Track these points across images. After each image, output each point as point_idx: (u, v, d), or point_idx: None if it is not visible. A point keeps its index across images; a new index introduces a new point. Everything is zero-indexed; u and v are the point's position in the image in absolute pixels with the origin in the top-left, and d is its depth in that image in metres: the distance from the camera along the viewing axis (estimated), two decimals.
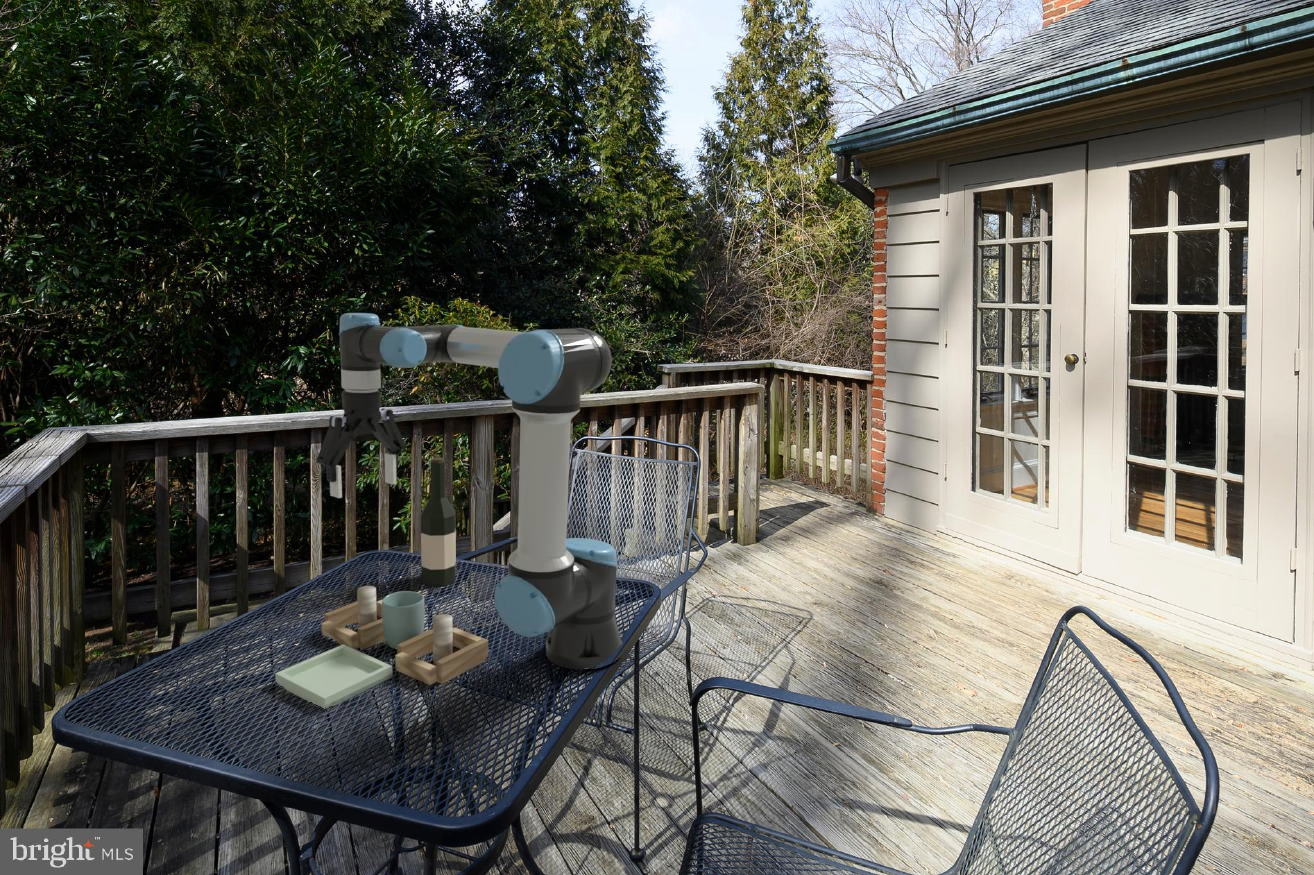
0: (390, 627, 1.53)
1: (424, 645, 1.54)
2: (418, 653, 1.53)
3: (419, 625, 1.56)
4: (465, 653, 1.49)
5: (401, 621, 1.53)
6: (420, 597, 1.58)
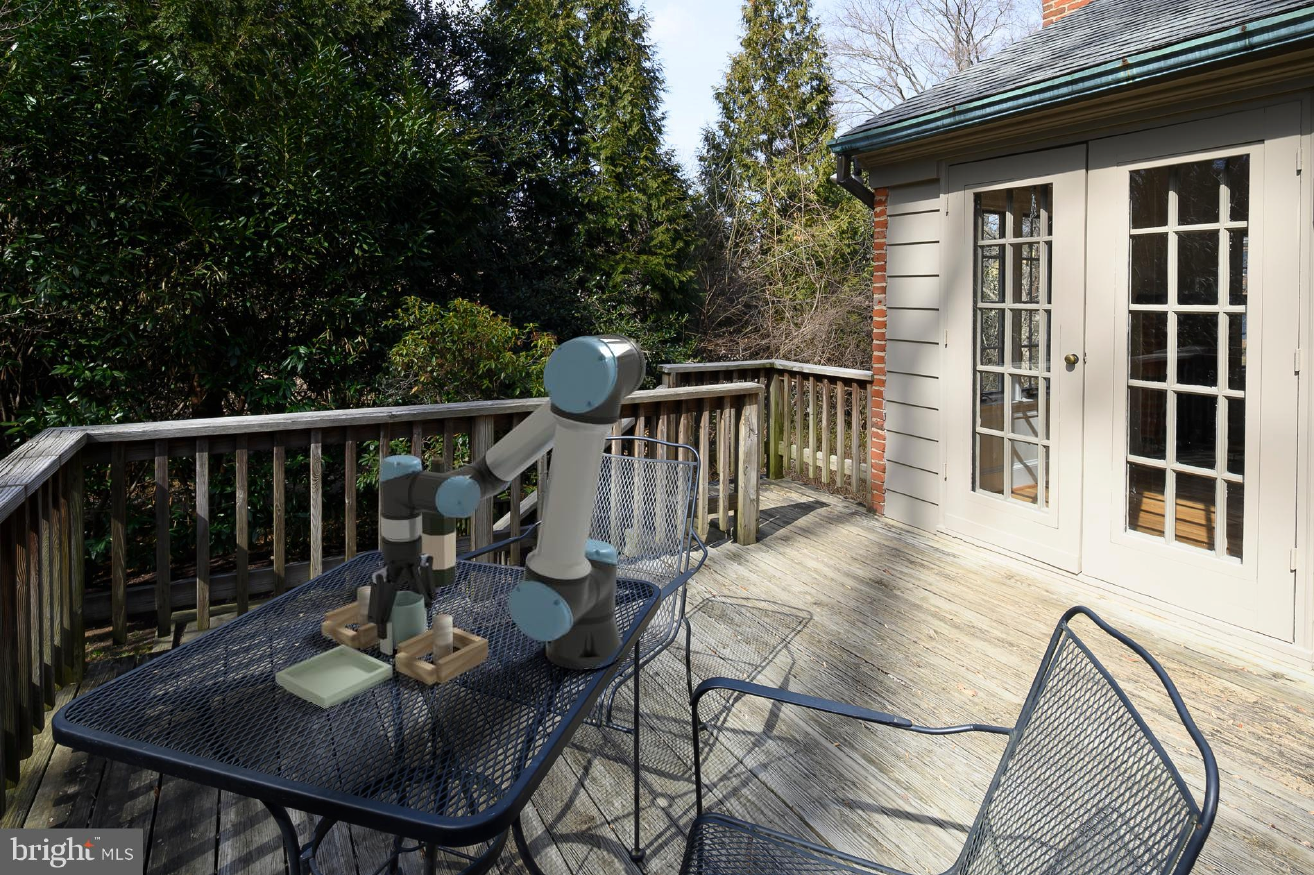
0: None
1: (424, 645, 1.54)
2: (418, 653, 1.53)
3: (419, 625, 1.56)
4: (465, 653, 1.49)
5: (401, 621, 1.53)
6: (420, 597, 1.58)
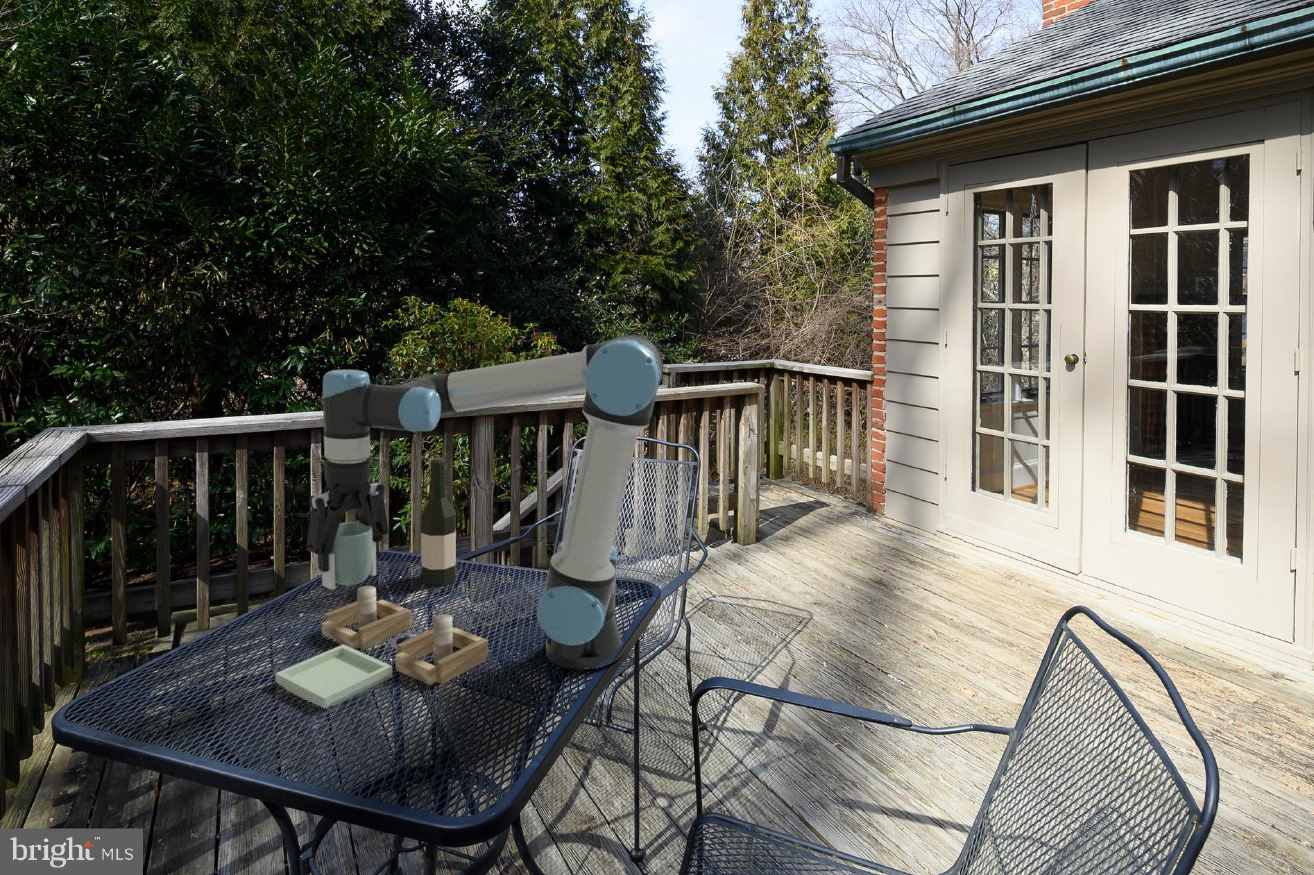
0: None
1: (424, 645, 1.54)
2: (418, 653, 1.53)
3: (365, 558, 1.42)
4: (465, 653, 1.49)
5: (344, 552, 1.39)
6: (368, 528, 1.44)
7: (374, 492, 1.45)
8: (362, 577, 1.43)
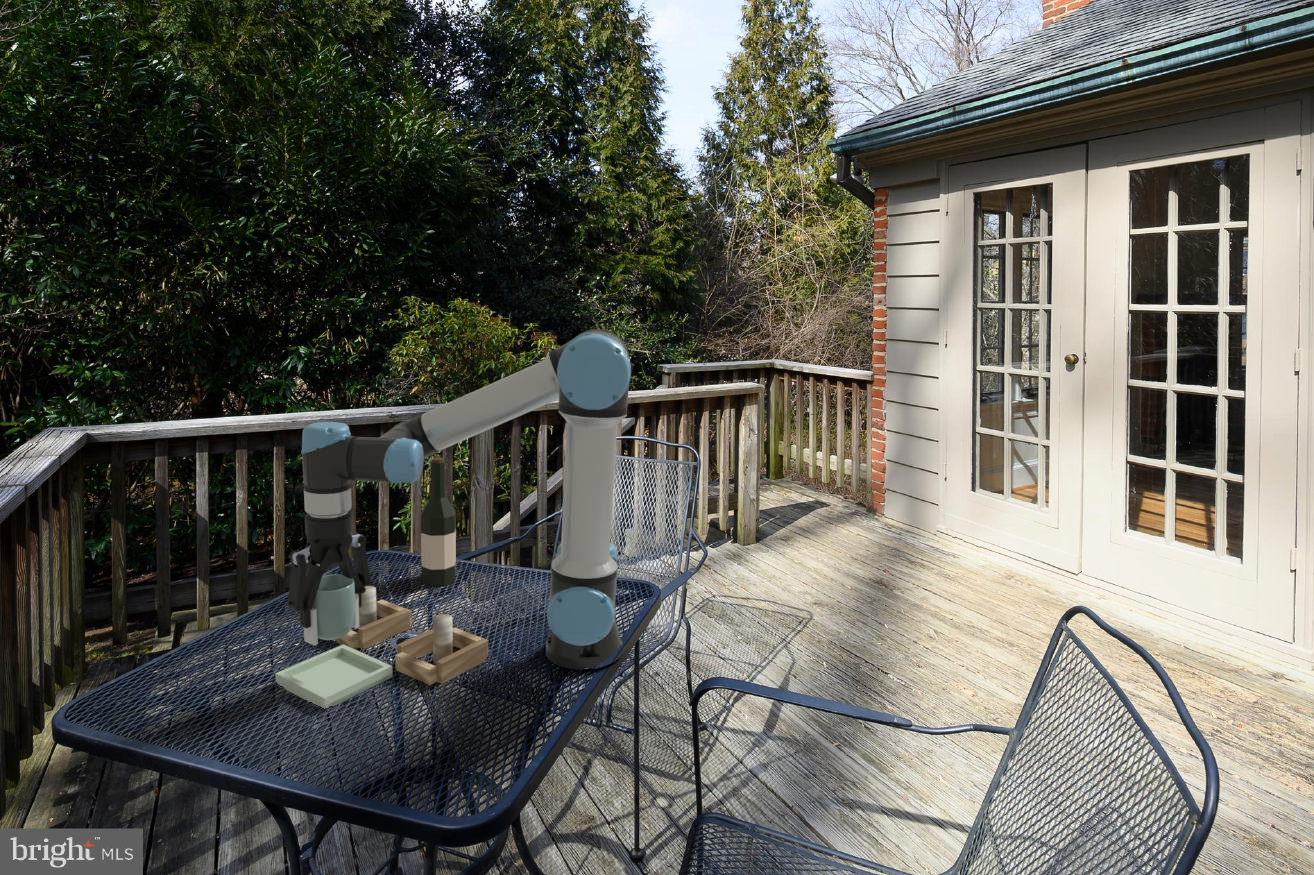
0: None
1: (424, 645, 1.54)
2: (418, 653, 1.53)
3: (348, 612, 1.40)
4: (465, 653, 1.49)
5: (326, 607, 1.37)
6: (350, 581, 1.42)
7: (356, 544, 1.43)
8: (345, 631, 1.40)
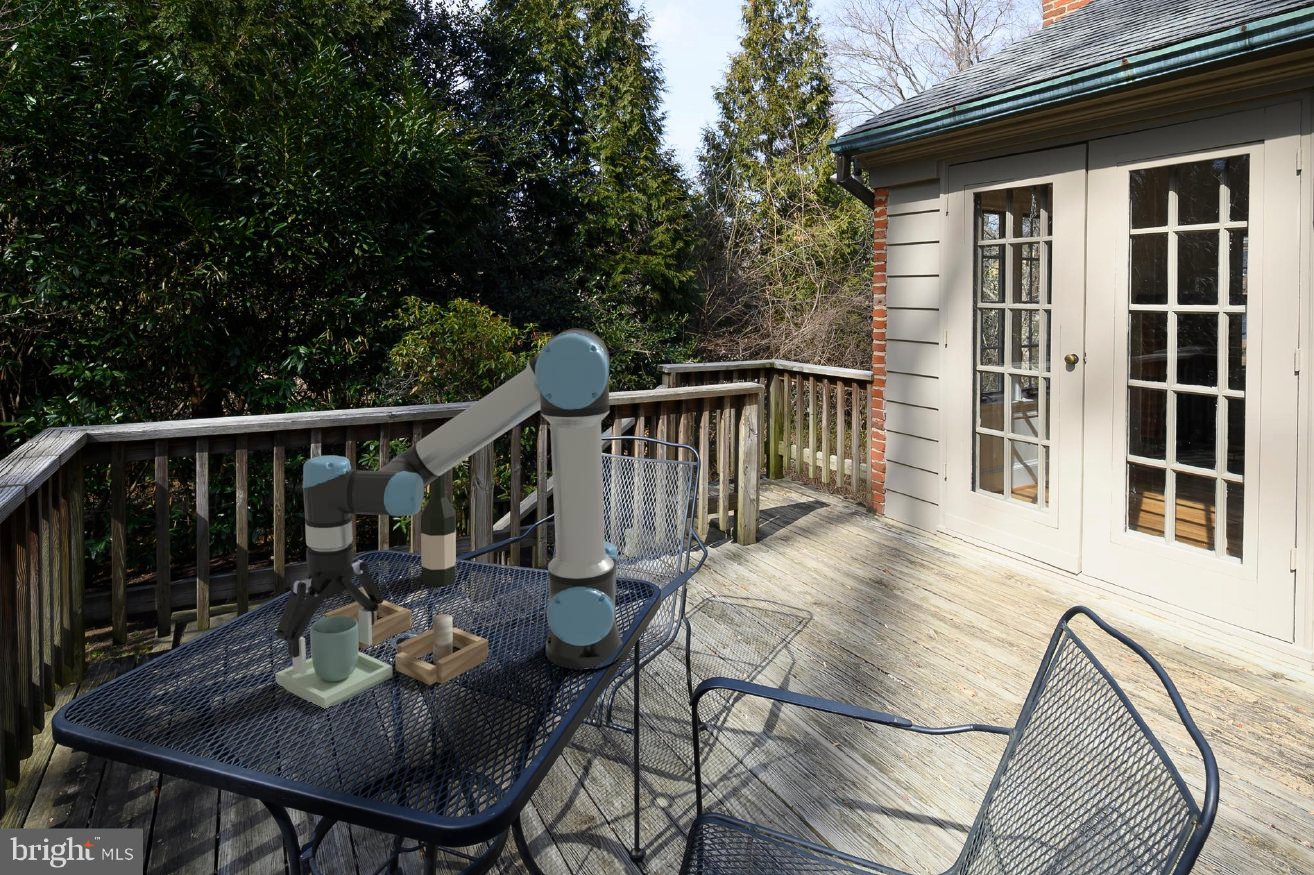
0: (319, 656, 1.39)
1: (424, 645, 1.54)
2: (418, 653, 1.53)
3: (352, 654, 1.42)
4: (465, 653, 1.49)
5: (331, 650, 1.39)
6: (354, 623, 1.44)
7: (358, 571, 1.44)
8: (348, 673, 1.42)
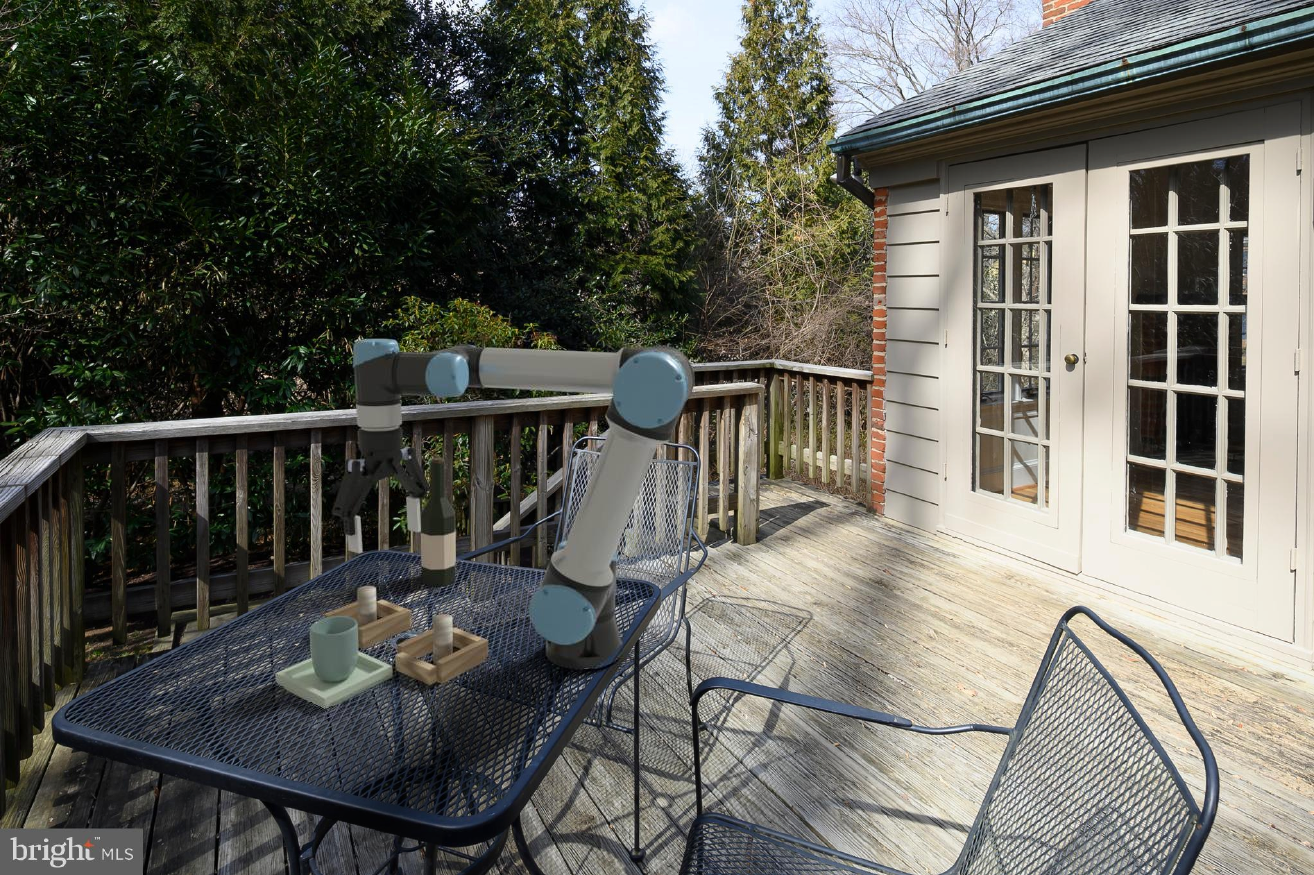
0: (318, 657, 1.39)
1: (424, 645, 1.54)
2: (418, 653, 1.53)
3: (351, 654, 1.41)
4: (465, 653, 1.49)
5: (330, 650, 1.39)
6: (353, 623, 1.44)
7: (407, 457, 1.47)
8: (348, 673, 1.42)
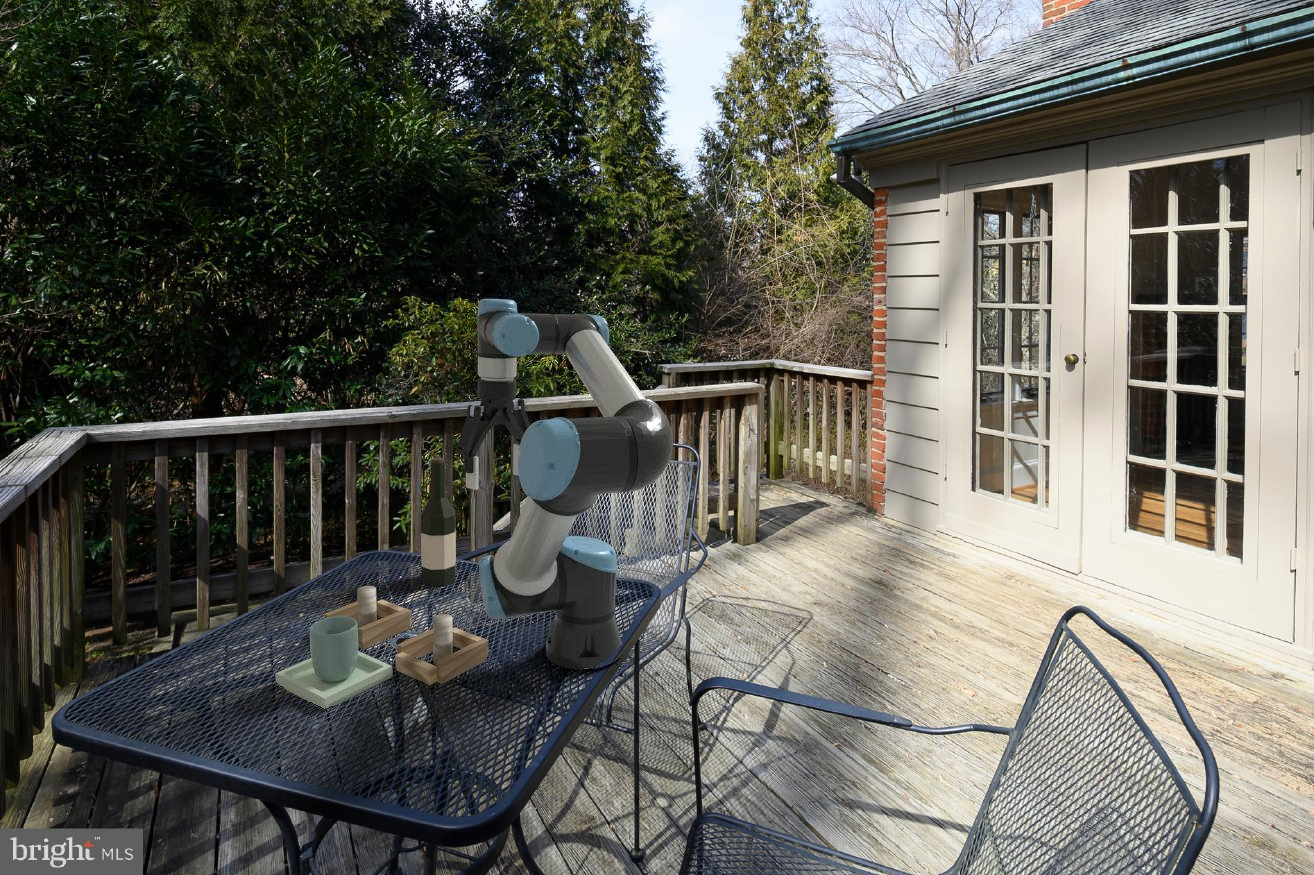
0: (318, 657, 1.39)
1: (424, 645, 1.54)
2: (418, 653, 1.53)
3: (351, 654, 1.41)
4: (465, 653, 1.49)
5: (330, 650, 1.39)
6: (353, 623, 1.44)
7: (517, 407, 1.63)
8: (348, 673, 1.42)
